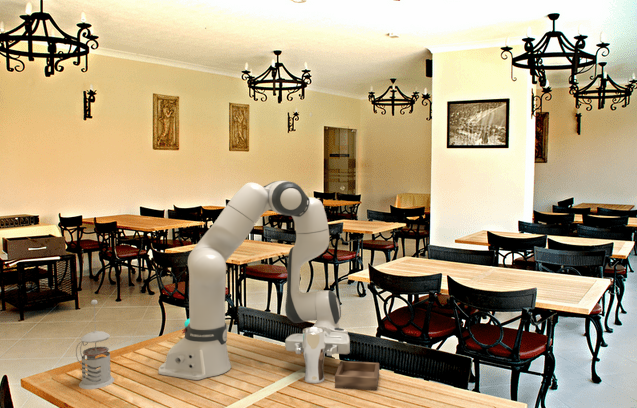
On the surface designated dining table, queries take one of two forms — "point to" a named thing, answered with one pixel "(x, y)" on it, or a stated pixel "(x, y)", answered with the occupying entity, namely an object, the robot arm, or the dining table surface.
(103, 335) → the french press
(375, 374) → the walnut tray
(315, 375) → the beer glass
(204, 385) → the dining table surface
